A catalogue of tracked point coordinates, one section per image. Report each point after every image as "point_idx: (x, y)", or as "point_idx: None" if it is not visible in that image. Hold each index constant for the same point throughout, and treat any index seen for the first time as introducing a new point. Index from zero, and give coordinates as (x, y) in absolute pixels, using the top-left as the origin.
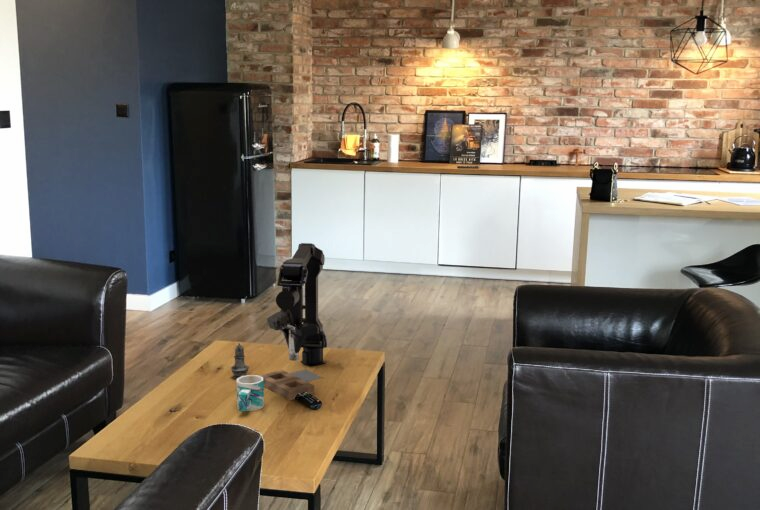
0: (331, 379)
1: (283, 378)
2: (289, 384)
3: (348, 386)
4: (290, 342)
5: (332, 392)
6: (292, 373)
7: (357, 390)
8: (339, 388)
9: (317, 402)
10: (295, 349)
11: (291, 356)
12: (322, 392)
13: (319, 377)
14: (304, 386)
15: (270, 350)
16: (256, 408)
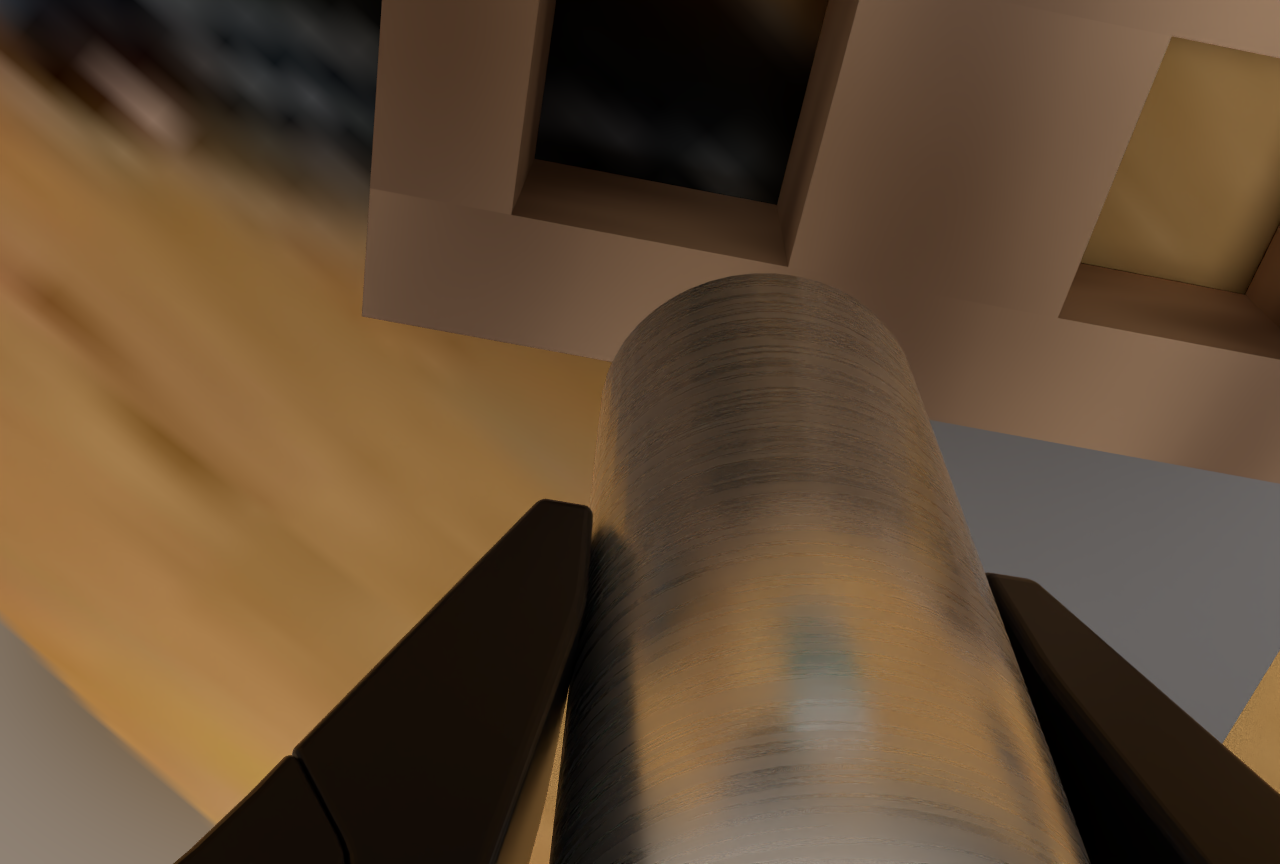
0: None
1: (1080, 208)
2: (823, 114)
3: (320, 718)
4: (822, 772)
5: (284, 471)
6: (1260, 624)
7: (134, 690)
8: (342, 618)
9: (75, 31)
10: (501, 568)
11: (720, 347)
12: (382, 388)
13: None
14: (432, 159)
15: None
16: None
